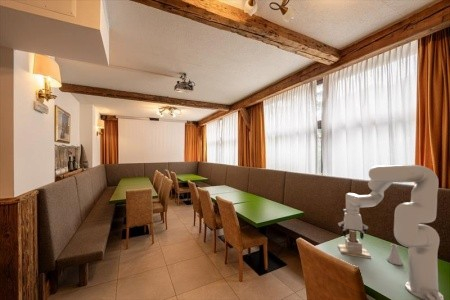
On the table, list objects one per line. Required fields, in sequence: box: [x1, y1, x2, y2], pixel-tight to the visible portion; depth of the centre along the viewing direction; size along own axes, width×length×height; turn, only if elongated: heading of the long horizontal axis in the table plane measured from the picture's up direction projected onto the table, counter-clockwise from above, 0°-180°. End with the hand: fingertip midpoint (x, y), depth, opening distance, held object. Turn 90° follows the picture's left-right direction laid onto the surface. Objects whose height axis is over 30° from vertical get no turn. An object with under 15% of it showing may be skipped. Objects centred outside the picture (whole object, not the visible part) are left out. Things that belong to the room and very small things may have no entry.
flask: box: [386, 244, 404, 266], centre depth 116 cm, size 7×7×10 cm
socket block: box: [337, 236, 372, 259], centre depth 128 cm, size 12×16×8 cm
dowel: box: [348, 229, 358, 243], centre depth 129 cm, size 4×4×12 cm
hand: (352, 237), depth 129 cm, fingers open, 9 cm apart
